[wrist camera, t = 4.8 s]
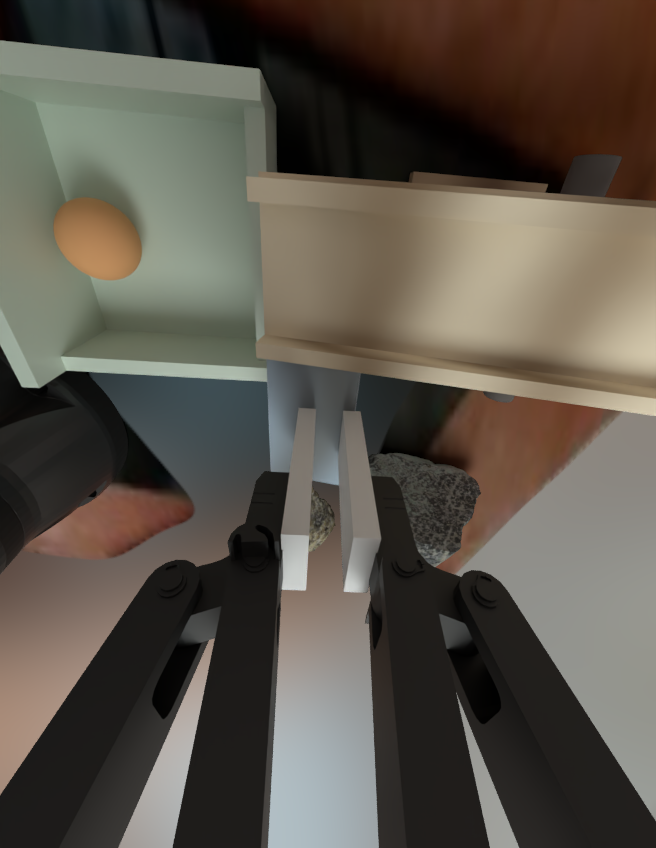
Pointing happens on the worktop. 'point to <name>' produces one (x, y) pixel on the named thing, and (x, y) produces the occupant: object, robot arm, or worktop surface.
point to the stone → (431, 501)
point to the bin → (133, 212)
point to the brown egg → (97, 238)
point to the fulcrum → (475, 182)
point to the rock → (319, 521)
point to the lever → (452, 295)
